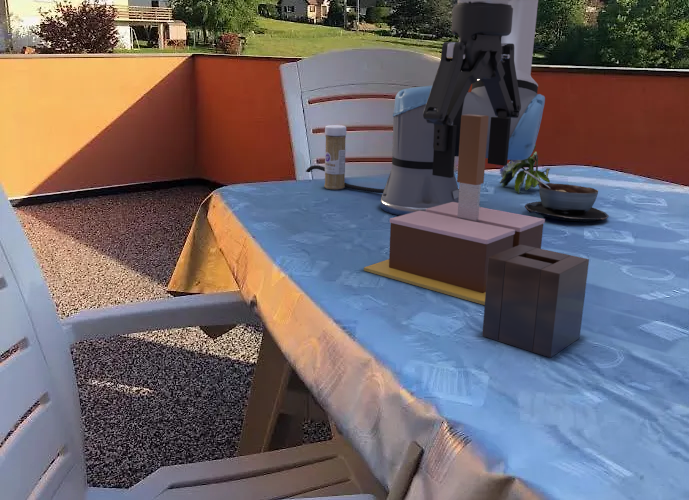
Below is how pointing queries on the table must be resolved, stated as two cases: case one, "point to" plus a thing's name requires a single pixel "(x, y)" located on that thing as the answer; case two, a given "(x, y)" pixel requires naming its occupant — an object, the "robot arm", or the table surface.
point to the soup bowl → (566, 202)
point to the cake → (453, 248)
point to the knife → (471, 164)
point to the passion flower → (523, 173)
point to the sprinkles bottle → (335, 157)
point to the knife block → (535, 299)
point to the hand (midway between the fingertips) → (471, 170)
